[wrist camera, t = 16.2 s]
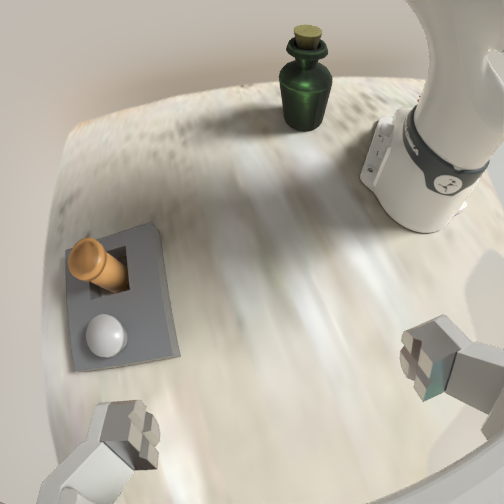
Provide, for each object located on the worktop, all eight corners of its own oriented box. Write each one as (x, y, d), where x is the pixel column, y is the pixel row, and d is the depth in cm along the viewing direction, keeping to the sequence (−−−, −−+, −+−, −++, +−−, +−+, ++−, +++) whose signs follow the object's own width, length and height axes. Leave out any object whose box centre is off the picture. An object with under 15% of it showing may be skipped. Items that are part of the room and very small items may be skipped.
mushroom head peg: (109, 257, 43) (77, 234, 34) (137, 265, 42) (108, 242, 33) (98, 290, 41) (62, 272, 33) (126, 300, 40) (92, 284, 32)
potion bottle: (307, 143, 47) (315, 51, 30) (269, 119, 49) (264, 31, 33) (335, 118, 49) (349, 32, 32) (299, 97, 51) (302, 14, 34)
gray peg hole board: (76, 256, 43) (54, 242, 38) (159, 231, 43) (144, 212, 38) (86, 371, 37) (61, 370, 31) (180, 356, 37) (164, 354, 31)
